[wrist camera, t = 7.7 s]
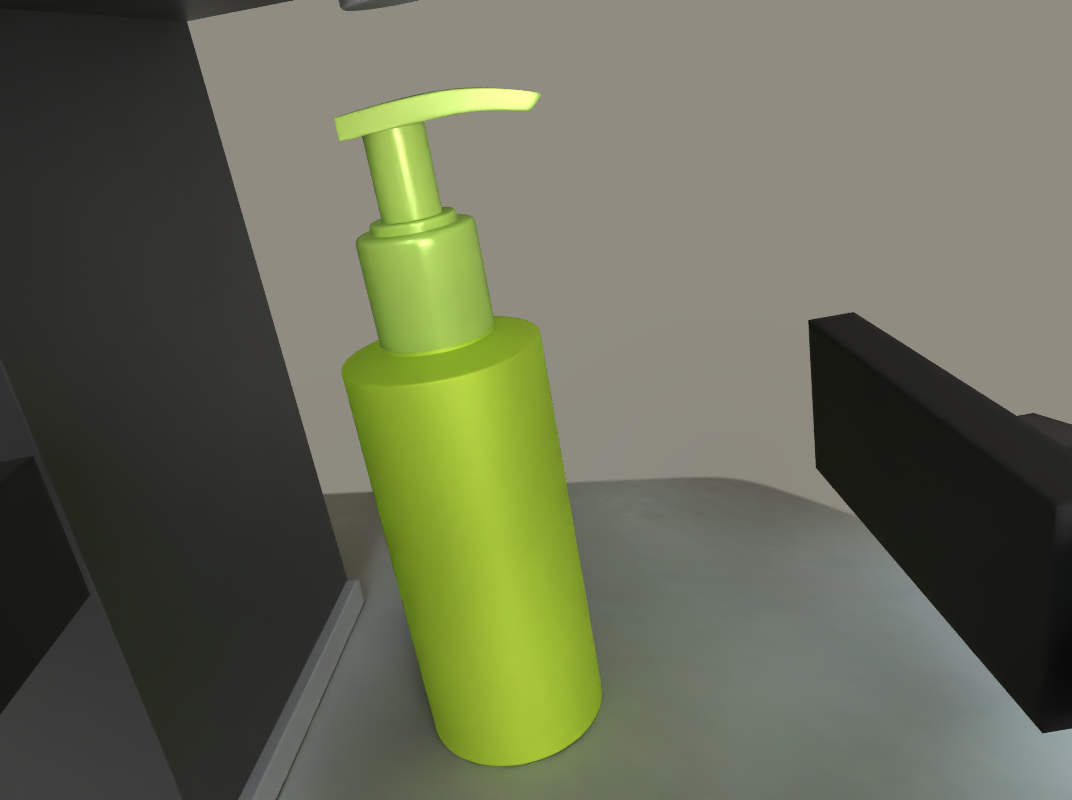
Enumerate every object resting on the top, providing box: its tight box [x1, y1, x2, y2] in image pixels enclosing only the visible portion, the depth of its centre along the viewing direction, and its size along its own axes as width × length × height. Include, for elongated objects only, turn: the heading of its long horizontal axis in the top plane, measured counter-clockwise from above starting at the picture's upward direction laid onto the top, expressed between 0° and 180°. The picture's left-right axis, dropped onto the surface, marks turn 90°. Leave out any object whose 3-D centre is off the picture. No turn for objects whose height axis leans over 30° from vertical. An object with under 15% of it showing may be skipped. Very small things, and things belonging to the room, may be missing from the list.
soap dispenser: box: [334, 88, 602, 766], centre depth 26 cm, size 6×7×20 cm
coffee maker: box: [0, 0, 417, 800], centre depth 26 cm, size 22×14×28 cm, turn 85°
